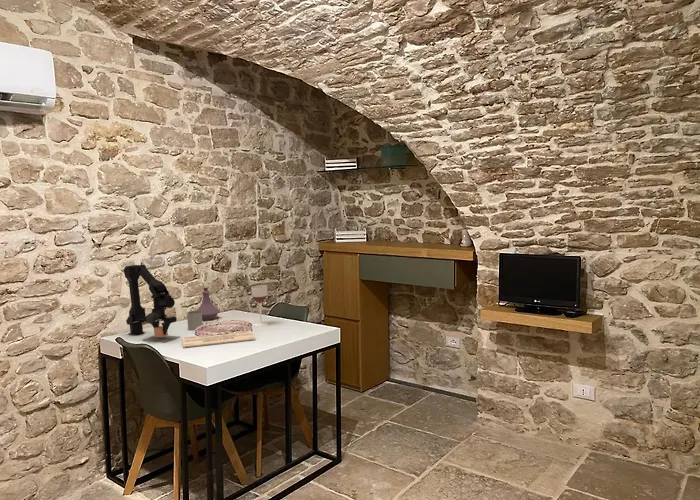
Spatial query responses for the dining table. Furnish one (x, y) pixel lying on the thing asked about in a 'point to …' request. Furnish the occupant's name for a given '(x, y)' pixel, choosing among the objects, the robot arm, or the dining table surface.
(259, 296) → the wineglass
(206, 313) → the flask
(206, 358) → the dining table surface
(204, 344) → the wooden board
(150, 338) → the mat
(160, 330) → the block
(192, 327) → the cup
